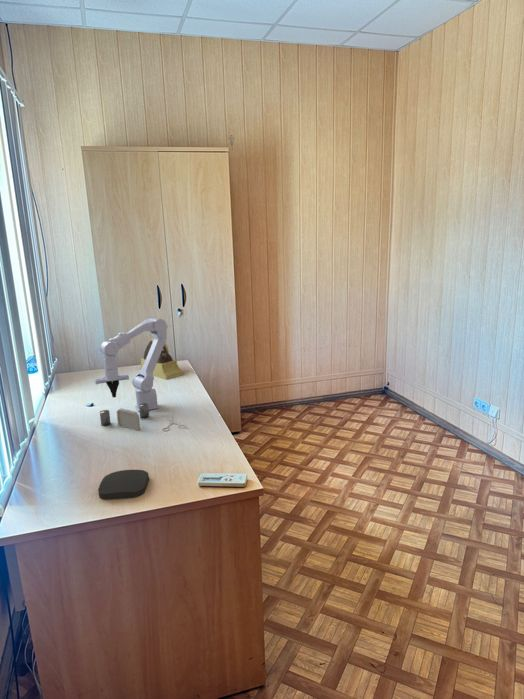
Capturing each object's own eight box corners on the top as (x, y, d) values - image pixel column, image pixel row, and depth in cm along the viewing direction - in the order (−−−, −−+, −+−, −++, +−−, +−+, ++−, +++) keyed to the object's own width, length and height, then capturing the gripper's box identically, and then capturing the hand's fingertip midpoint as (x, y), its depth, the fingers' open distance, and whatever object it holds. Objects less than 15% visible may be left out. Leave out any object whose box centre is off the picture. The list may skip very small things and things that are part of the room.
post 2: (148, 415, 217) (147, 402, 215) (150, 417, 213) (148, 405, 212) (139, 416, 215) (138, 404, 214) (141, 419, 211) (139, 406, 210)
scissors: (163, 432, 195) (157, 415, 214) (163, 434, 196) (157, 417, 214) (188, 428, 199) (180, 412, 217) (188, 430, 199) (180, 414, 217)
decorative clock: (184, 374, 280) (180, 325, 273) (166, 379, 271) (161, 328, 264) (157, 367, 299) (152, 320, 292) (139, 371, 290) (134, 323, 283)
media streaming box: (143, 498, 147) (142, 489, 146) (96, 501, 146) (94, 493, 145) (150, 475, 161) (150, 467, 160) (107, 478, 160) (106, 470, 159)
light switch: (137, 431, 199) (135, 413, 197) (118, 425, 205) (116, 408, 203) (140, 429, 200) (138, 412, 198) (121, 424, 206) (119, 407, 205)
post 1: (110, 422, 210) (108, 409, 208) (111, 425, 206) (109, 412, 205) (100, 423, 208) (99, 410, 207) (101, 426, 205) (100, 413, 203)
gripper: (125, 363, 218) (128, 391, 221) (93, 368, 212) (96, 396, 215) (128, 367, 211) (131, 396, 214) (94, 372, 205) (98, 401, 208)
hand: (114, 396), depth 214 cm, fingers closed
